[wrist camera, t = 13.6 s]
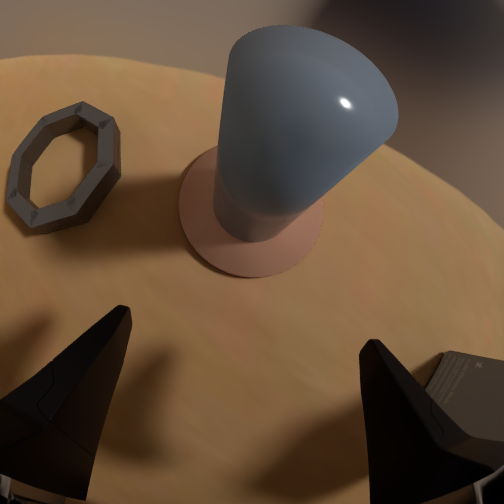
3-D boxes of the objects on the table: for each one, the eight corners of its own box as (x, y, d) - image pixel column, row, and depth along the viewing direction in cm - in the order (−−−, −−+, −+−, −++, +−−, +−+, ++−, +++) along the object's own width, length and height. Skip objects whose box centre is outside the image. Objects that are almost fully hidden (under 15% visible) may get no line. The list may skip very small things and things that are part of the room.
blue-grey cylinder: (238, 257, 17) (301, 180, 6) (198, 187, 18) (196, 40, 6) (306, 219, 19) (423, 126, 7) (266, 155, 19) (328, 22, 7)
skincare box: (444, 348, 20) (586, 358, 4) (468, 377, 20) (582, 393, 4) (397, 426, 18) (533, 487, 2) (428, 444, 18) (537, 490, 3)
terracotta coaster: (276, 306, 18) (277, 306, 17) (150, 223, 17) (148, 221, 17) (340, 192, 20) (343, 189, 20) (232, 121, 20) (233, 118, 19)
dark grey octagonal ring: (66, 255, 16) (53, 251, 14) (5, 192, 15) (-7, 184, 14) (145, 147, 18) (140, 132, 16) (72, 105, 18) (65, 92, 16)
